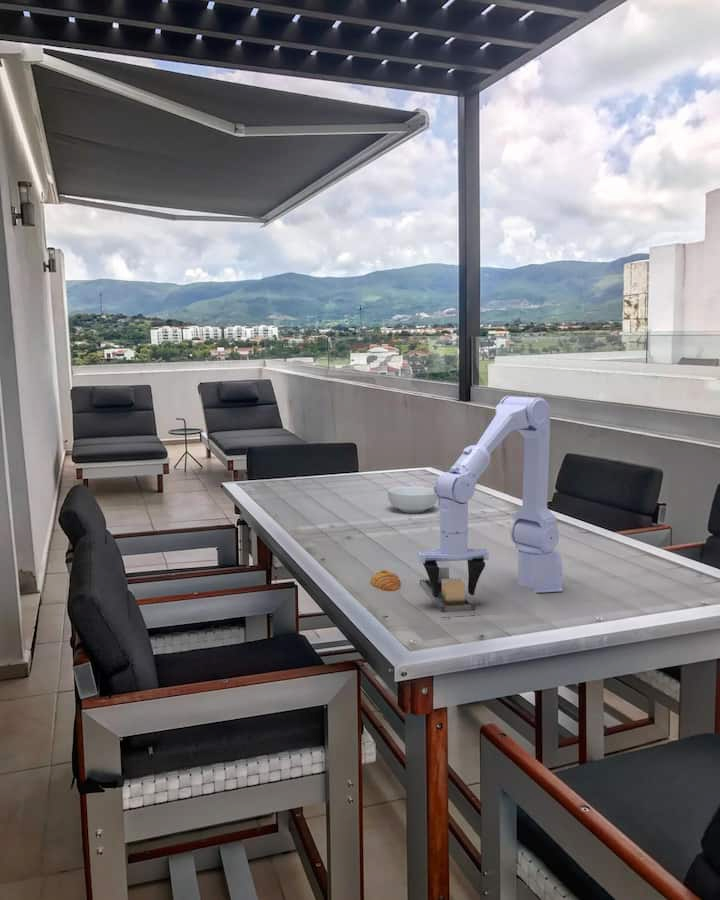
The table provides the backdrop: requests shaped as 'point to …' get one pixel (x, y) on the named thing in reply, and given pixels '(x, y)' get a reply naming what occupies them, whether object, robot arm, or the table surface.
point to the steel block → (440, 575)
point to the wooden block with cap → (453, 592)
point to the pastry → (385, 581)
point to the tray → (438, 601)
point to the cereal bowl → (412, 498)
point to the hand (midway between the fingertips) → (453, 594)
